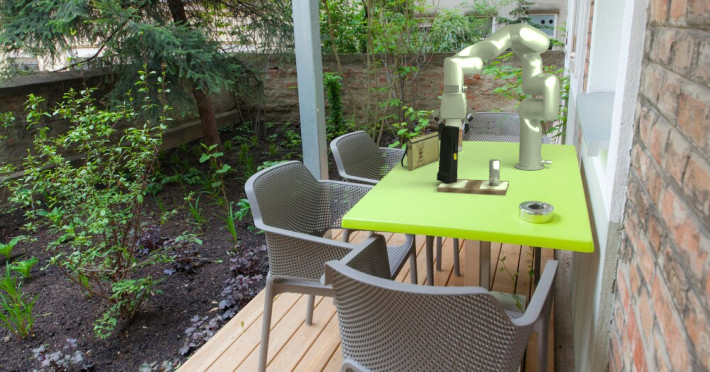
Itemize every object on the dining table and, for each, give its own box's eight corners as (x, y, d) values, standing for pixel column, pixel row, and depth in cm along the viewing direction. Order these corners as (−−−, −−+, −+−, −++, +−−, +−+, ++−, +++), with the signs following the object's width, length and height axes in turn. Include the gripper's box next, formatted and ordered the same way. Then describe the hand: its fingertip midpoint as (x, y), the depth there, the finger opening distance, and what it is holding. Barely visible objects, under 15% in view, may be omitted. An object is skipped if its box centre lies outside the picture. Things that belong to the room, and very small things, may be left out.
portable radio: (460, 182, 203) (464, 121, 198) (448, 183, 200) (452, 121, 195) (446, 178, 210) (450, 119, 204) (436, 180, 207) (439, 119, 201)
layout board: (508, 184, 203) (508, 180, 202) (505, 195, 188) (505, 191, 188) (445, 181, 212) (445, 177, 211) (437, 191, 198) (437, 187, 197)
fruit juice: (441, 151, 276) (441, 100, 269) (451, 148, 282) (451, 98, 275) (455, 152, 269) (455, 100, 262) (465, 149, 276) (466, 99, 268)
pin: (499, 183, 198) (500, 159, 195) (498, 186, 194) (499, 161, 192) (489, 183, 199) (489, 159, 197) (488, 186, 196) (488, 161, 193)
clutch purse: (429, 158, 258) (428, 130, 254) (441, 160, 254) (441, 131, 250) (397, 170, 236) (396, 139, 232) (409, 172, 232) (408, 140, 228)
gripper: (477, 88, 193) (477, 132, 198) (433, 89, 199) (434, 131, 204) (475, 90, 186) (474, 135, 191) (429, 91, 192) (430, 134, 197)
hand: (453, 133), depth 197 cm, fingers open, 9 cm apart
